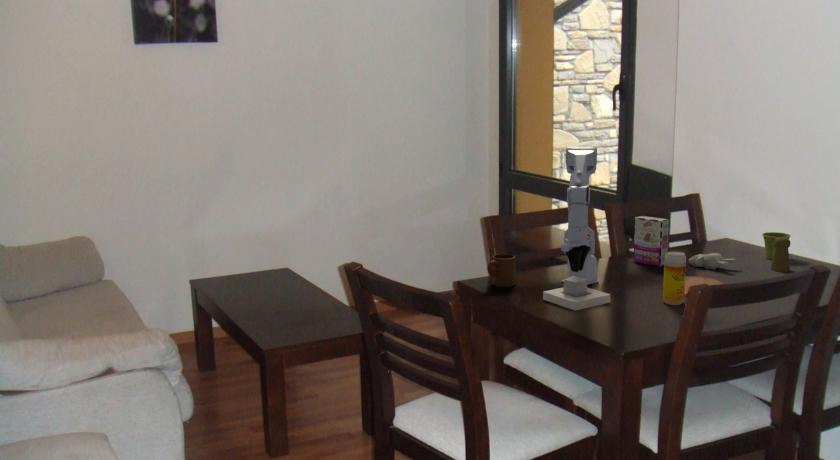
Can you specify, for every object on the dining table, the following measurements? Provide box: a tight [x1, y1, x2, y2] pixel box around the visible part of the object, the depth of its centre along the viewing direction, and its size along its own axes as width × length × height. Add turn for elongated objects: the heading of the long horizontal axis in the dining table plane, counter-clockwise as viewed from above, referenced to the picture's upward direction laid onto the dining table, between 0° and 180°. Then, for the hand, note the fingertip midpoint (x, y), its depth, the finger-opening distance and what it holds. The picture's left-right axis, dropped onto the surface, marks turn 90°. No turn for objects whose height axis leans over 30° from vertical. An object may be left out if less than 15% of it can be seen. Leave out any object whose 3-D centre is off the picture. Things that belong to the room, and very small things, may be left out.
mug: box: [486, 253, 517, 288], centre depth 266 cm, size 12×8×9 cm, turn 137°
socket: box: [542, 286, 611, 311], centre depth 248 cm, size 14×14×3 cm
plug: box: [563, 276, 588, 297], centre depth 248 cm, size 5×5×6 cm
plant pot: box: [761, 231, 792, 260], centre depth 295 cm, size 9×9×9 cm
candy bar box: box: [633, 215, 670, 268], centre depth 290 cm, size 11×5×16 cm, turn 42°
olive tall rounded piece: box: [770, 238, 791, 273], centre depth 279 cm, size 6×6×11 cm
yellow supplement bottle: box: [662, 251, 687, 306], centre depth 244 cm, size 6×6×15 cm
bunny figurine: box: [688, 252, 737, 270], centre depth 284 cm, size 10×5×15 cm
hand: (576, 270), depth 247 cm, fingers closed
